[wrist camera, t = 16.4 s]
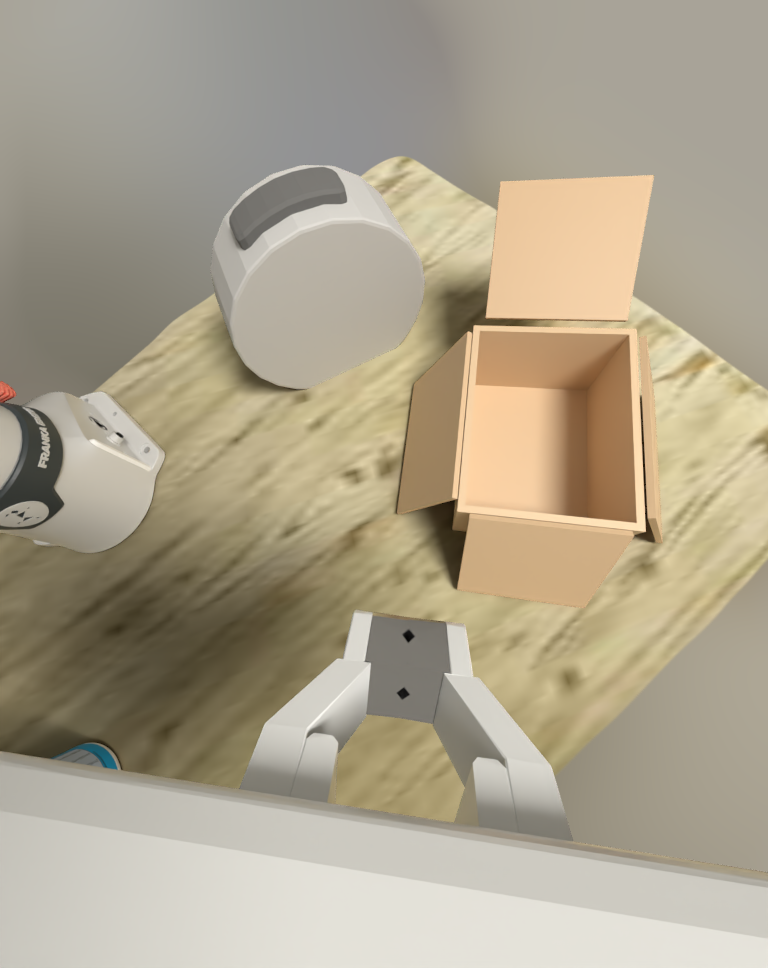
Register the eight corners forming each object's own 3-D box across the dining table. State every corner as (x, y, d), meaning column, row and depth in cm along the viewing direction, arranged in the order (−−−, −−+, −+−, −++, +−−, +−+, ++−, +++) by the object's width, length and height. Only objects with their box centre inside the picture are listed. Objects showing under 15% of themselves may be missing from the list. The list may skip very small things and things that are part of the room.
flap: (627, 320, 32) (654, 175, 29) (485, 317, 34) (500, 181, 32) (624, 321, 32) (650, 178, 30) (485, 319, 34) (499, 185, 32)
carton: (662, 619, 34) (753, 632, 24) (388, 580, 39) (372, 577, 29) (650, 391, 41) (719, 327, 31) (415, 380, 45) (409, 320, 35)
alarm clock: (403, 292, 49) (382, 106, 30) (427, 333, 47) (421, 159, 28) (260, 359, 49) (150, 216, 30) (277, 403, 47) (169, 278, 28)
